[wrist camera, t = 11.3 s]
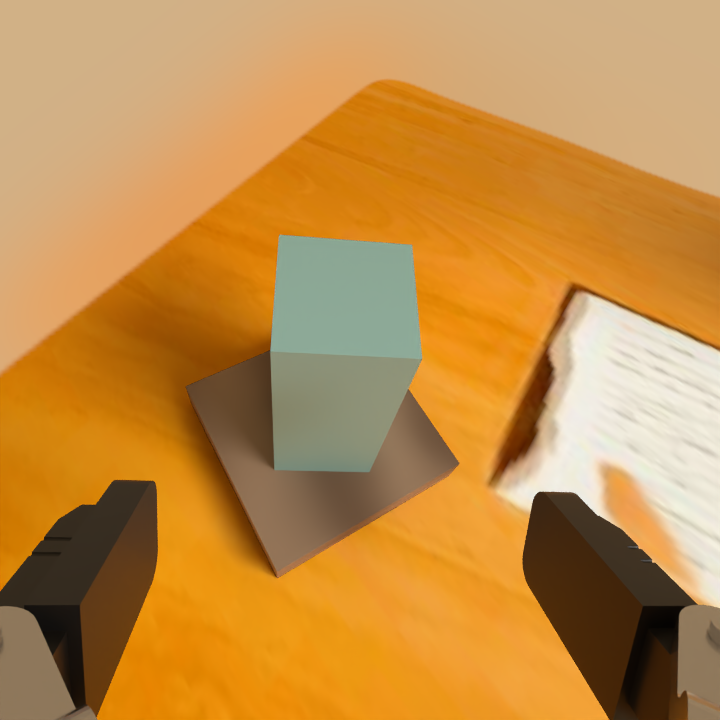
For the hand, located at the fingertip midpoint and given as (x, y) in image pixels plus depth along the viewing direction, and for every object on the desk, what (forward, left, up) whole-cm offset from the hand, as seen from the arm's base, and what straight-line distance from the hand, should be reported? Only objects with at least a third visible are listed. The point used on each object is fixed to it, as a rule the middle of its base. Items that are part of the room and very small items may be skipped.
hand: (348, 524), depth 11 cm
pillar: (-4, -6, -13) cm, 15 cm away
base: (-4, -7, -15) cm, 17 cm away
